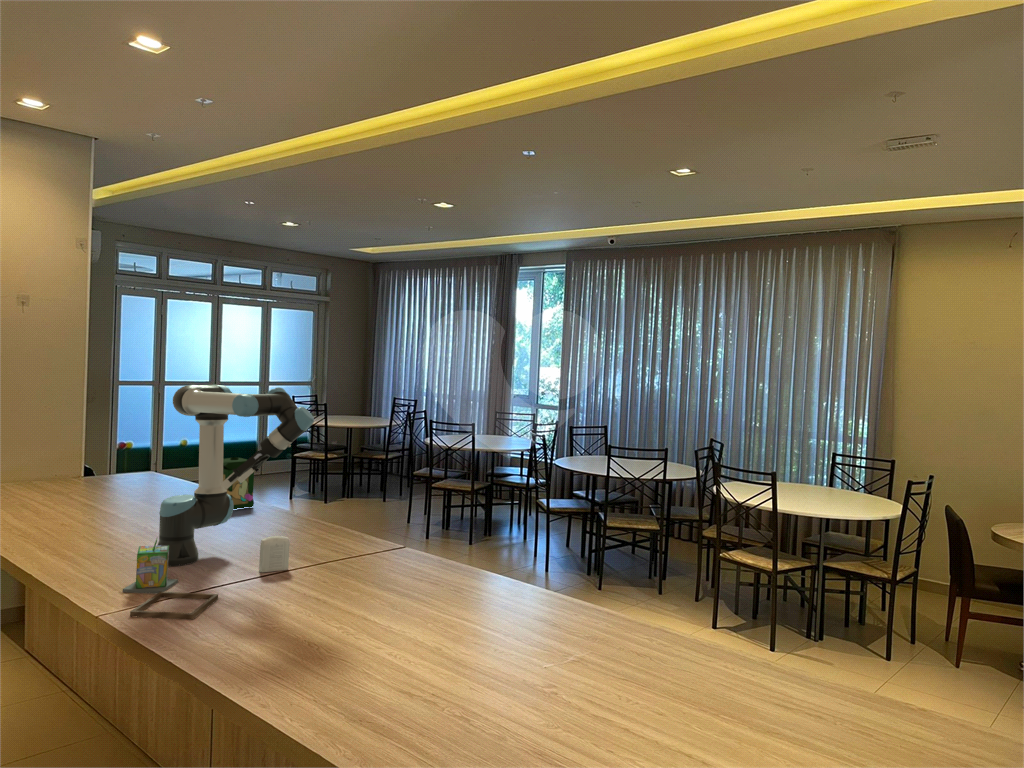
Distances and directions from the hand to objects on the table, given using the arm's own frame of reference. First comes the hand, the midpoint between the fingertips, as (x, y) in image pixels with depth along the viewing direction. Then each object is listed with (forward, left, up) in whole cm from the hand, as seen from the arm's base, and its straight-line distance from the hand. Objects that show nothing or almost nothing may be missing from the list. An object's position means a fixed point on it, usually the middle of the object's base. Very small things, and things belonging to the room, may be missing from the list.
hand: (231, 483), depth 246 cm
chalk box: (-18, -18, -31) cm, 40 cm away
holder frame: (-2, -35, -32) cm, 47 cm away
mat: (-18, -18, -32) cm, 40 cm away
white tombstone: (+14, +6, -32) cm, 35 cm away
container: (-39, +106, -32) cm, 117 cm away
